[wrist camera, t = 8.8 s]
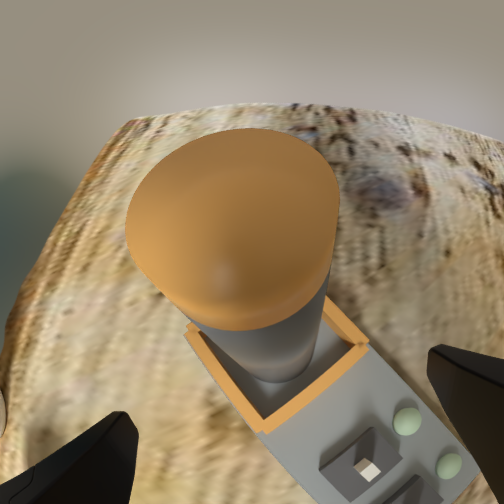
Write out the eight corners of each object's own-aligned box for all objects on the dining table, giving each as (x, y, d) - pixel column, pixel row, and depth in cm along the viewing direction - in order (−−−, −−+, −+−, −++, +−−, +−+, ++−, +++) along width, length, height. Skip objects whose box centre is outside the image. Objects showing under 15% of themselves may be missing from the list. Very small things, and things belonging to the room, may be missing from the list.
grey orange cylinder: (326, 366, 17) (384, 240, 5) (253, 394, 17) (137, 333, 5) (297, 301, 19) (284, 111, 8) (229, 326, 19) (122, 169, 7)
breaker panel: (474, 466, 11) (506, 471, 8) (379, 554, 10) (394, 578, 6) (286, 266, 22) (283, 235, 19) (189, 339, 20) (165, 321, 17)
